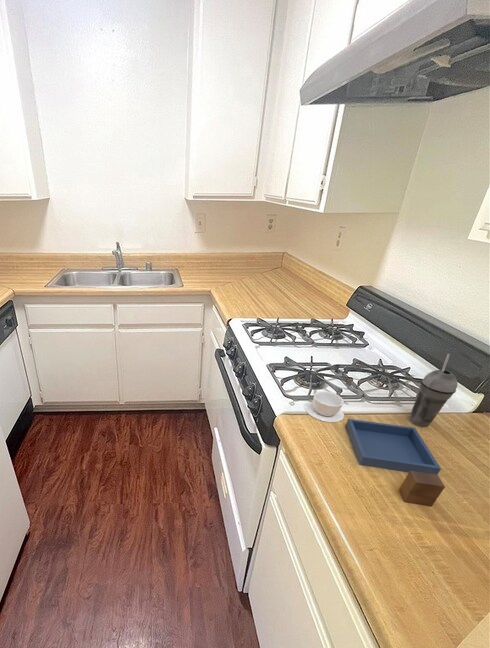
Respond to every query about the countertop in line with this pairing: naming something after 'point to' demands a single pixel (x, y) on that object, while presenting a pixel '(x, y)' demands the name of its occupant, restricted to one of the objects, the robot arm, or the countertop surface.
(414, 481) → the block
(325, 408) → the teacup
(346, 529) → the countertop surface
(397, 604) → the countertop surface
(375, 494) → the countertop surface
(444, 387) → the beverage cup
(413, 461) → the tray
